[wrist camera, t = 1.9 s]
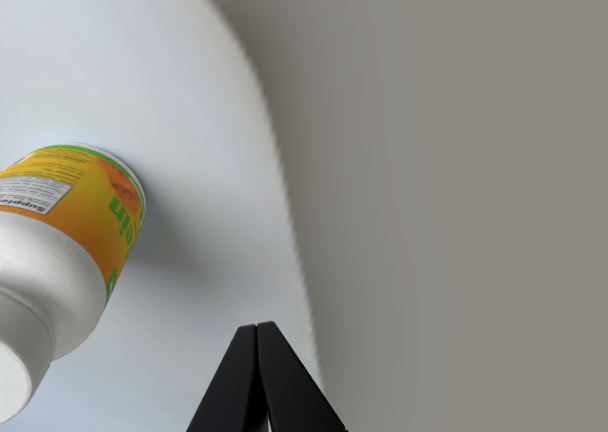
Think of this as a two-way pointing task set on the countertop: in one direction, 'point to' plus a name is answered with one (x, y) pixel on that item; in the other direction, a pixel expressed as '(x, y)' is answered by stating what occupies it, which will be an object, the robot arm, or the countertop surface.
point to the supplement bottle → (59, 256)
